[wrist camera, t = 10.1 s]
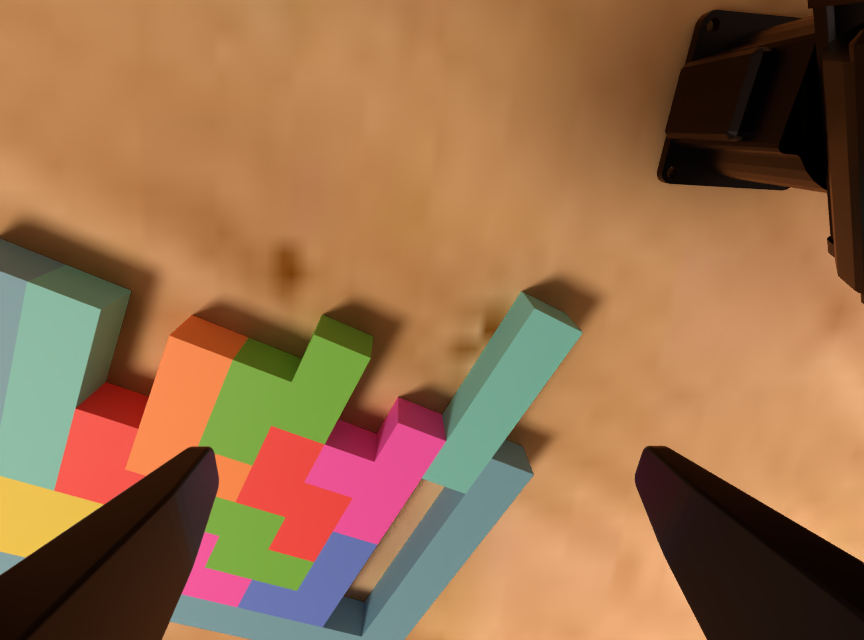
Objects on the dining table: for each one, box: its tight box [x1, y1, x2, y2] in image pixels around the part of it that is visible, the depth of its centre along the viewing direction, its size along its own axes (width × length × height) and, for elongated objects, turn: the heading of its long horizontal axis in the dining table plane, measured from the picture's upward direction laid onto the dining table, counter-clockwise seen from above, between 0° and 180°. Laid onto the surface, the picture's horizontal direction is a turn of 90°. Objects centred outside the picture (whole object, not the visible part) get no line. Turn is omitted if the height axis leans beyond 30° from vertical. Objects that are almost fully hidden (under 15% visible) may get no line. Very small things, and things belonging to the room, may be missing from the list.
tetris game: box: [0, 239, 583, 640], centre depth 23 cm, size 28×3×28 cm
